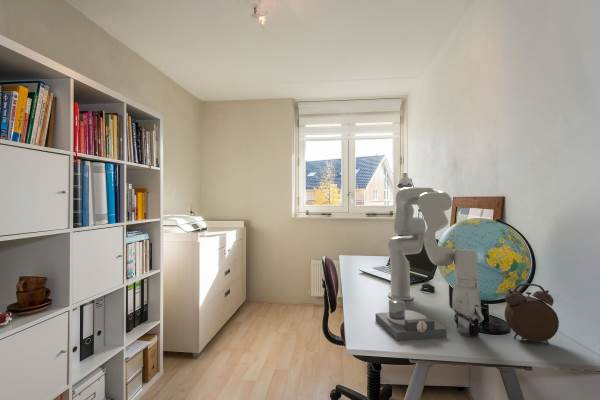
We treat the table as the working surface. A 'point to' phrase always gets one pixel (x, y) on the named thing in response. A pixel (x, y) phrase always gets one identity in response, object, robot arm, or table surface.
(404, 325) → the scale
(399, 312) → the cylinder
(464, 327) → the cylinder
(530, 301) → the alarm clock
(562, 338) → the table surface
